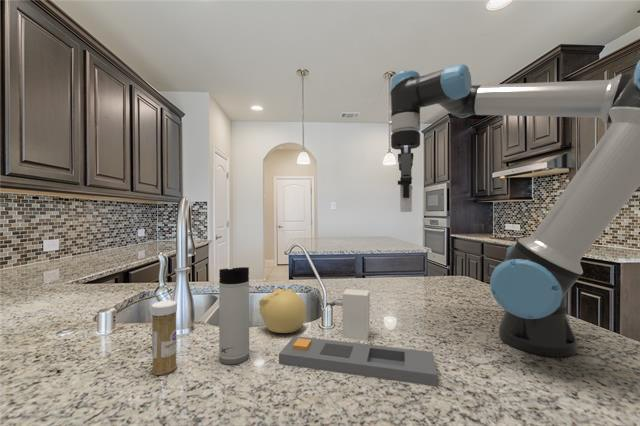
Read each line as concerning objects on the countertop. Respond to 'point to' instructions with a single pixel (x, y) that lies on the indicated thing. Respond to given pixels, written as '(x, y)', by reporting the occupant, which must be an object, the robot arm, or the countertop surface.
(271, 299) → the tan round potato
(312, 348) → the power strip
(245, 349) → the travel mug
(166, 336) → the sprinkles bottle
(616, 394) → the countertop surface
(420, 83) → the robot arm
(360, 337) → the block
